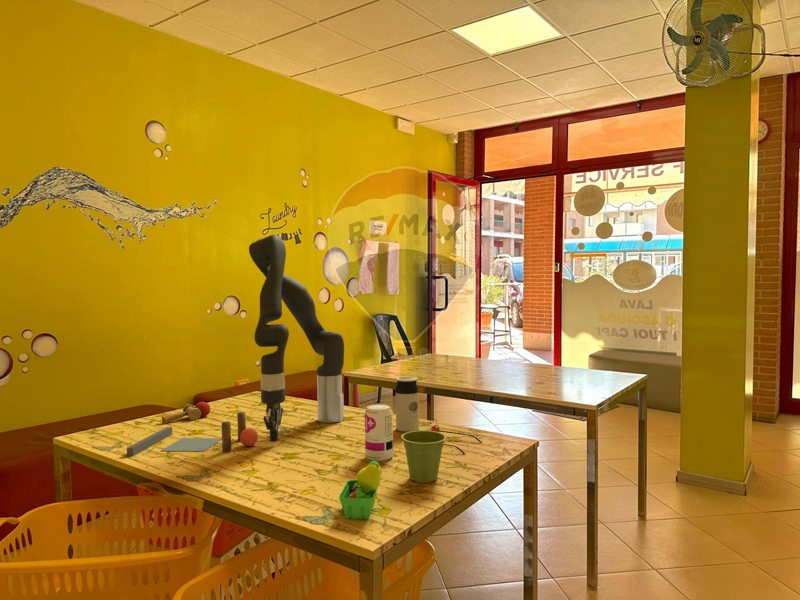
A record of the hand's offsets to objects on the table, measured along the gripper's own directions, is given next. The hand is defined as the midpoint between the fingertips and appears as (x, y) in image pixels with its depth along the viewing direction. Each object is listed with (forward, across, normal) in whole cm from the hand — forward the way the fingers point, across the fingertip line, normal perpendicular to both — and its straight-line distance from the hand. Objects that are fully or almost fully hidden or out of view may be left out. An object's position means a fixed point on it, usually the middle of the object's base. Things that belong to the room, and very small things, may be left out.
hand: (274, 441), depth 177 cm
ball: (-1, 0, -8) cm, 8 cm away
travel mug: (+2, -21, +41) cm, 46 cm away
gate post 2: (+2, -6, -13) cm, 15 cm away
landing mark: (+2, 0, -27) cm, 27 cm away
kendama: (+2, -32, -45) cm, 55 cm away
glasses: (+2, -3, +56) cm, 56 cm away
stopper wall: (+2, 0, -41) cm, 41 cm away
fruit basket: (+2, +48, +36) cm, 60 cm away
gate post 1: (+2, +6, -13) cm, 15 cm away
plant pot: (+2, +27, +49) cm, 56 cm away
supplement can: (+2, +10, +35) cm, 36 cm away
